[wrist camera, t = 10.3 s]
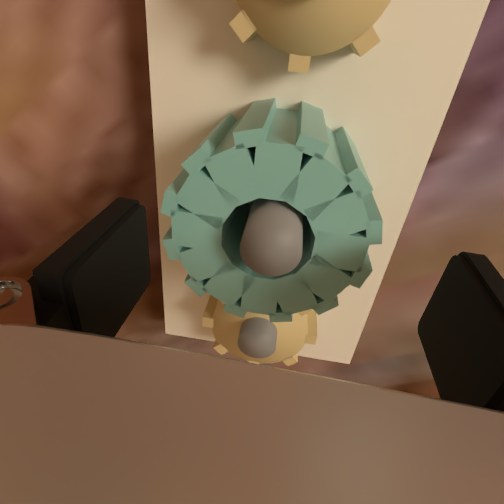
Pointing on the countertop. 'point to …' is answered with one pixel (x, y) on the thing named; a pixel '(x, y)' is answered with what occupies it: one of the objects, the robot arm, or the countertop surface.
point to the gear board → (290, 97)
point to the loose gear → (274, 188)
